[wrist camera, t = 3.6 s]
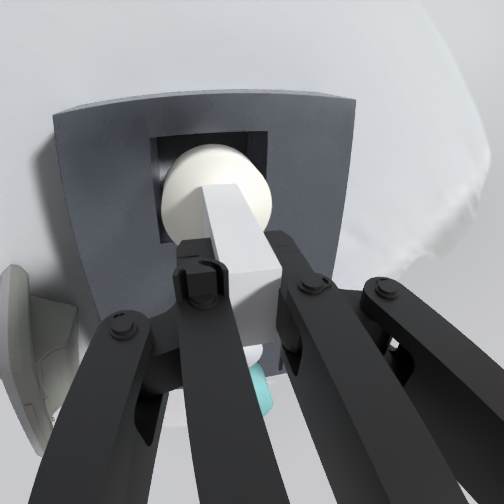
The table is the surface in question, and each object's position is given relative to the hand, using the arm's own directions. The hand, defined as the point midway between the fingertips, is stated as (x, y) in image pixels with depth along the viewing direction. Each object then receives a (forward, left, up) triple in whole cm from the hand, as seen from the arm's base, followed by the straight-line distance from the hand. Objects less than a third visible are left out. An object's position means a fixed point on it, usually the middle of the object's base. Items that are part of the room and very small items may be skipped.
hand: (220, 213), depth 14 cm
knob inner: (0, 0, -7) cm, 7 cm away
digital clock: (-17, -14, -8) cm, 24 cm away
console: (0, -6, -8) cm, 10 cm away
